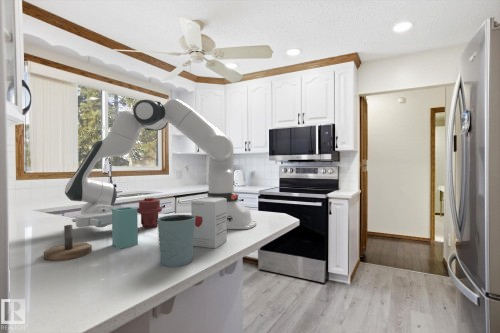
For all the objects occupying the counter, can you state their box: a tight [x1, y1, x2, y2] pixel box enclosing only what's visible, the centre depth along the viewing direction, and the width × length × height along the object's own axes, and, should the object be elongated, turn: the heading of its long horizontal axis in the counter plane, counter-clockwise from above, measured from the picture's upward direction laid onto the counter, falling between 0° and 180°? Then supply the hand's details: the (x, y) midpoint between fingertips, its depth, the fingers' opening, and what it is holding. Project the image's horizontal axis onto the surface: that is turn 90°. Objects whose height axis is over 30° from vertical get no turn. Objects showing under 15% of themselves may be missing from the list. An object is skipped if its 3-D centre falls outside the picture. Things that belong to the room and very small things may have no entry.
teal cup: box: [157, 214, 195, 268], centre depth 74 cm, size 10×10×12 cm
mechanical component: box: [137, 197, 163, 230], centre depth 115 cm, size 12×10×10 cm
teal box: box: [111, 206, 139, 249], centre depth 90 cm, size 6×6×12 cm
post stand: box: [43, 224, 93, 262], centre depth 81 cm, size 12×12×8 cm
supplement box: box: [190, 196, 228, 249], centre depth 90 cm, size 9×9×15 cm
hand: (113, 220), depth 98 cm, fingers open, 8 cm apart
